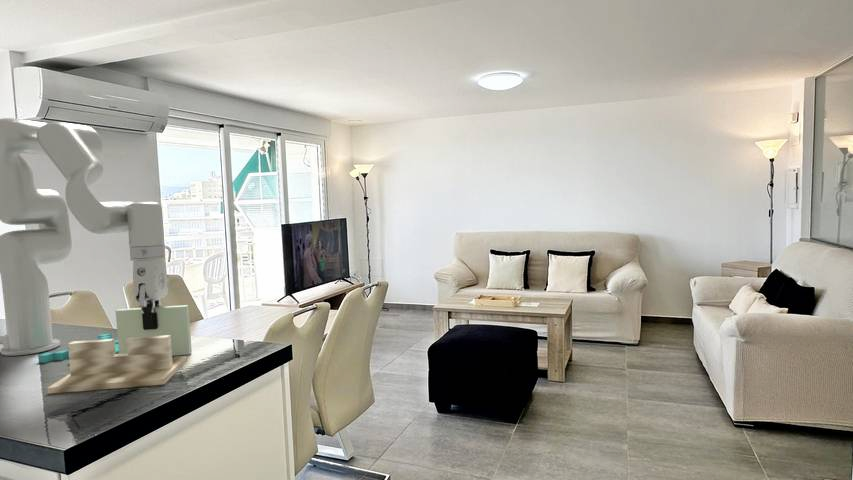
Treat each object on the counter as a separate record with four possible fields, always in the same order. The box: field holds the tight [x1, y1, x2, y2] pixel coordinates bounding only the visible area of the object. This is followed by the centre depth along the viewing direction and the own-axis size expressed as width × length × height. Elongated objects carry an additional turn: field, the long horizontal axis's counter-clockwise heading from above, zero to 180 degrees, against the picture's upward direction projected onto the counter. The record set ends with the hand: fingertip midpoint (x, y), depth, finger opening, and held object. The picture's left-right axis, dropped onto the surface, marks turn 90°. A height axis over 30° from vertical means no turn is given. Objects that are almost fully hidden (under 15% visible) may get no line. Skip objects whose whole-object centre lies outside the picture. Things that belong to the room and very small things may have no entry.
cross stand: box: [46, 335, 188, 395], centre depth 114 cm, size 22×16×8 cm
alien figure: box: [37, 333, 119, 364], centre depth 135 cm, size 20×2×20 cm
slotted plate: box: [115, 304, 193, 357], centre depth 128 cm, size 16×2×12 cm, turn 99°
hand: (152, 327), depth 128 cm, fingers closed on slotted plate, 2 cm apart
